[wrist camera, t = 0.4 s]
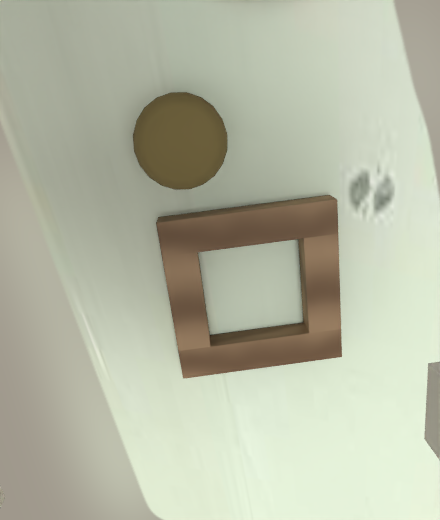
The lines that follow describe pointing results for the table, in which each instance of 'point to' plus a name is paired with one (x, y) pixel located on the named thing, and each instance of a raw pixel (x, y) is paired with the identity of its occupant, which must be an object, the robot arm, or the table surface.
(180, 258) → the socket plate
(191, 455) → the table surface
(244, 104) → the table surface
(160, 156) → the cork
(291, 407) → the table surface
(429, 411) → the robot arm
